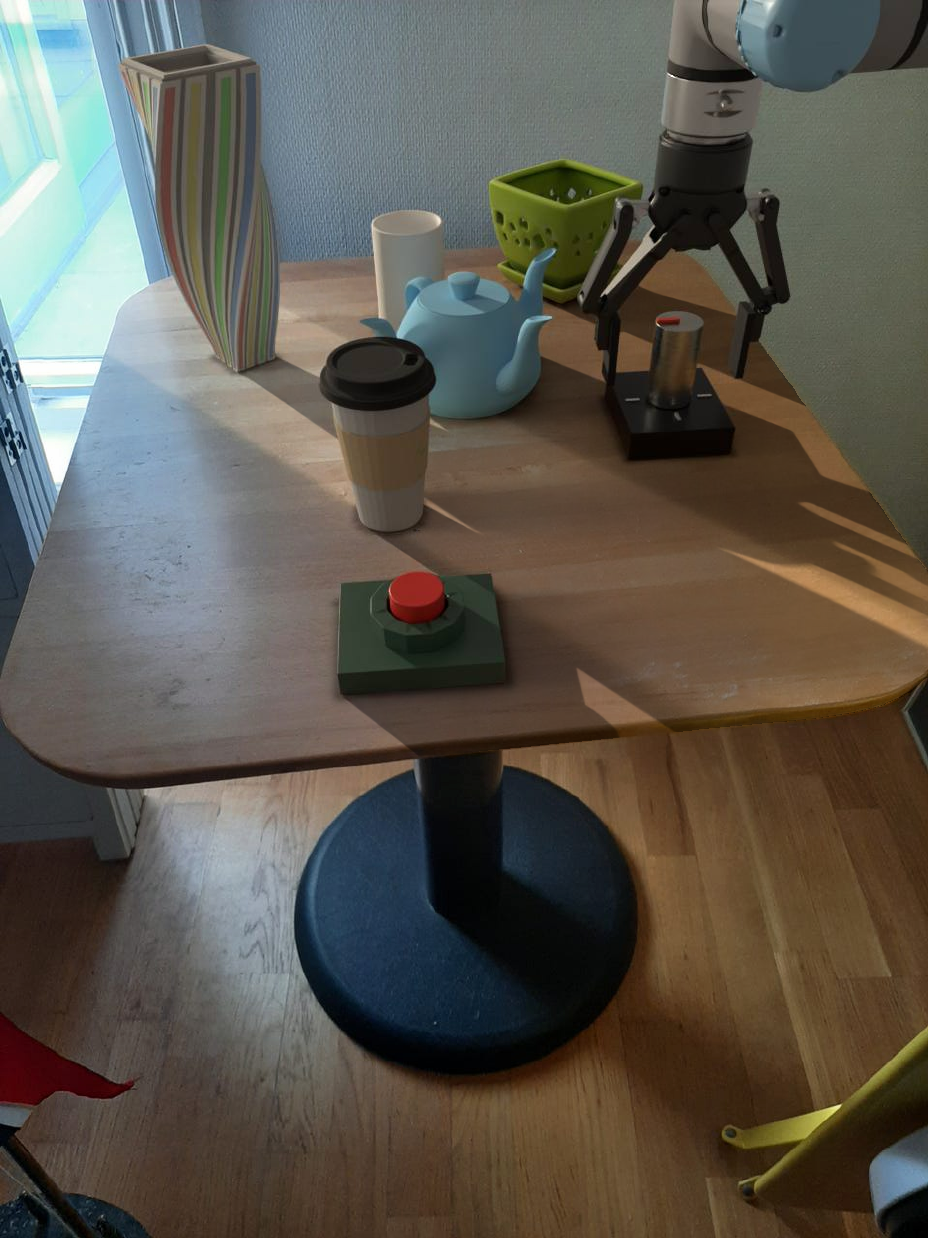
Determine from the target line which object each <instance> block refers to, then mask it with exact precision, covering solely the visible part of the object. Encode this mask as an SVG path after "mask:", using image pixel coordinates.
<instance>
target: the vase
mask: <svg viewBox="0 0 928 1238" xmlns="http://www.w3.org/2000/svg"><path fill="white" fill-rule="evenodd" d="M116 65H117V68H118V70H119V73H120V75H121V78H122V80H123V83H124V85H125V87H126V89H127V92H128V94H129V96H130V99H131V101H132V103H133V105H134V107H135V109H136V111H137V114H138V116H139V118H140V120H141V122H142V124H143V126H144V128H145V131H146V133H147V136H148V139H149V142H150V145H151V151H152V157H153V163H154V197H155V198H154V199H155V211H156V219H157V223H158V224H157V226H158V230H159V236H160V239H161V244H162V248H163V251H164V253H165V257H166V260H167V264H168V266H169V269H170V272H171V274H172V276H173V279H174V281H175V284H176V285H177V288H178V290H179V291H180V293H181V295H182V298H183V300H184V302H185V303H186V305H187V307H188V309H189V311H190V312H191V314H192V316H193V318H194V319H195V321H196V323H197V325H198V326H199V327H200V329H201V331H202V333H203V334H204V336H205V337H206V339H207V341H208V342H209V345H210V346H211V348H212V350H213V353H214V355H215V358H217V359H218V360H219V361H221V362H223V363H224V364H225V365H227V366H228V367H230V368H231V369H232V370H233V371H235V372H236V373H239V372H242V371H245V370H247V369H251V368H254V367H255V366H257V365H261V364H264V363H266V362H270V361H273V360H275V359H276V340H277V331H278V323H279V313H280V299H281V260H280V259H281V257H280V243H279V236H278V227H277V222H276V214H275V209H274V204H273V200H272V195H271V192H270V187H269V183H268V180H267V176H266V172H265V170H264V166H263V164H262V161H261V149H262V147H261V146H262V84H261V83H262V82H261V81H262V80H261V65H260V64H258V63H257V61H255V60H253V58H252V57H249V56H246V55H242V54H240V53H237V52H234V51H231V50H227V49H224V48H221V47H218V46H215V45H212V44H208V43H205V44H198V45H193V46H187V47H182V48H175V49H170V50H165V51H158V52H153V53H147V54H141V55H136V56H129V57H124V58H121V61H120V60H119V63H117V64H116Z"/></svg>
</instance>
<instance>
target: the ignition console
mask: <svg viewBox="0 0 928 1238" xmlns="http://www.w3.org/2000/svg"><path fill="white" fill-rule="evenodd" d="M426 573H428V572H426ZM429 573H430V574H432V575H435V576H436V577H437V578H439V579H440V580H441V582H442V584H443V587H444V603H445V606H444V610H443V612H442V613H441V615H440V616H439V617H438V618H436V619H435V620H432V621H430V622H428V623H418V624H408V623H405V622H402V621H400V620H398V619H397V618H396V617H395V616H394V615H393V613H392V612H391V607H390V597H389V588H390V585H391V583H392V582H393V581H394V580H395V579H396V578H397V577H399V576H401V575H403V574H404V573H402V574H400V575H398V576H395V577H393V578H391V579H383V580H382V579H380V580H367V581H352V582H340V583H339V606H338V607H339V608H338V637H337V639H338V640H337V671H336V672H337V673H336V675H337V680H338V681H337V682H338V687H339V692H340V693H339V694H340V695H341V696H342V695H353V694H355V695H356V694H370V693H381V692H395V691H409V690H410V691H411V690H425V689H439V688H452V687H453V688H454V687H464V686H481V685H493V684H494V685H495V684H505V683H506V657H505V650H504V645H503V638H502V631H501V625H500V619H499V612H498V606H497V601H496V594H495V588H494V580H493V575H492V574H493V573H491V572H487V573H473V574H456V575H438V574H435V573H431V572H429Z"/></svg>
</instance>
